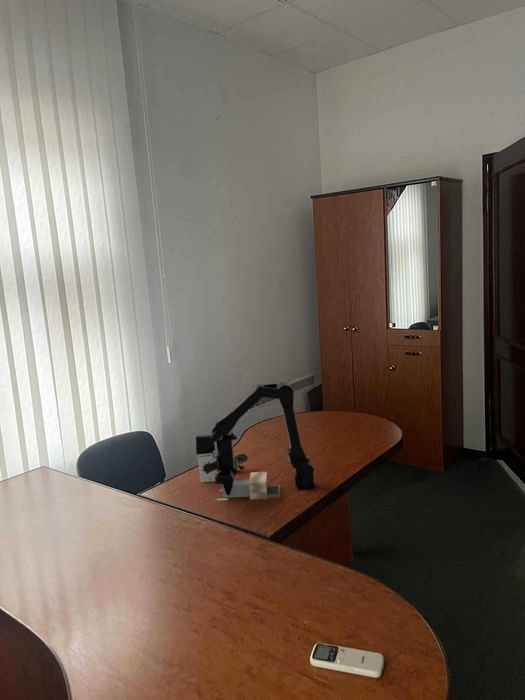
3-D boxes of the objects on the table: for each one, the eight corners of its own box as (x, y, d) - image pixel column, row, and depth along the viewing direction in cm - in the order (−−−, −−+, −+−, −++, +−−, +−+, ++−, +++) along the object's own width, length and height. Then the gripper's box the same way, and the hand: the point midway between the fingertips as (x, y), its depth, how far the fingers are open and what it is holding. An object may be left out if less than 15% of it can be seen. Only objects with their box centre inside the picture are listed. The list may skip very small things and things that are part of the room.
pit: (280, 487, 204) (280, 484, 204) (280, 497, 196) (279, 494, 196) (268, 488, 205) (267, 485, 204) (267, 497, 196) (266, 495, 196)
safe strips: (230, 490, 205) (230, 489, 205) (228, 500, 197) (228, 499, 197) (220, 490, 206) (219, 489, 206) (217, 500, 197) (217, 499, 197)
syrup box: (215, 481, 214) (211, 446, 212) (200, 482, 215) (196, 447, 212) (216, 476, 220) (213, 441, 218) (202, 476, 220) (198, 442, 218)
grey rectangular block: (262, 490, 203) (261, 478, 202) (261, 495, 198) (260, 483, 197) (224, 492, 203) (223, 480, 203) (223, 497, 199) (221, 485, 198)
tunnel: (268, 487, 205) (266, 471, 204) (267, 498, 195) (265, 482, 194) (252, 488, 205) (250, 472, 204) (250, 499, 196) (248, 483, 195)
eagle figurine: (241, 473, 218) (252, 461, 225) (230, 458, 218) (241, 447, 225) (229, 480, 223) (240, 468, 230) (218, 466, 223) (230, 454, 230)
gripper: (206, 444, 208) (210, 483, 211) (199, 462, 190) (203, 504, 192) (236, 442, 207) (239, 481, 210) (231, 460, 189) (235, 503, 192)
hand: (229, 492), depth 201 cm, fingers closed on grey rectangular block, 4 cm apart
